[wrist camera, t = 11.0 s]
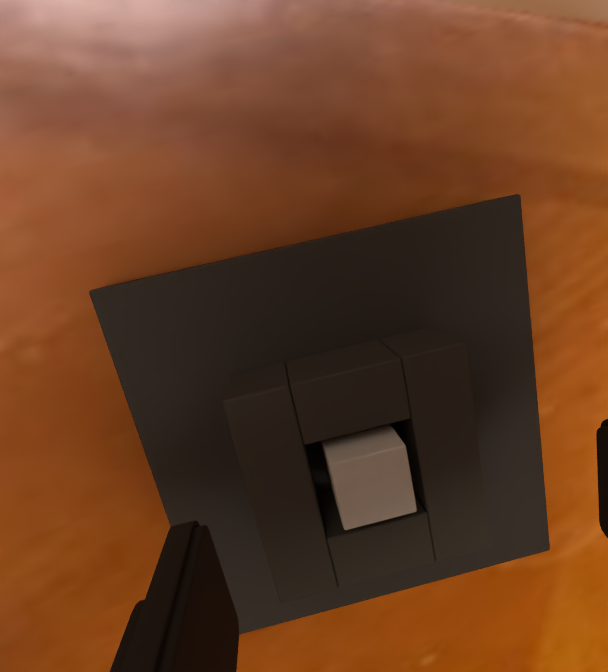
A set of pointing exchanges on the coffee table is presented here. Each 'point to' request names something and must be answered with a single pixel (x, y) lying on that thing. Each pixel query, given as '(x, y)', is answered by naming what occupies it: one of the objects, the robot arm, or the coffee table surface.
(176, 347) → the base pad
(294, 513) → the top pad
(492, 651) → the coffee table surface
